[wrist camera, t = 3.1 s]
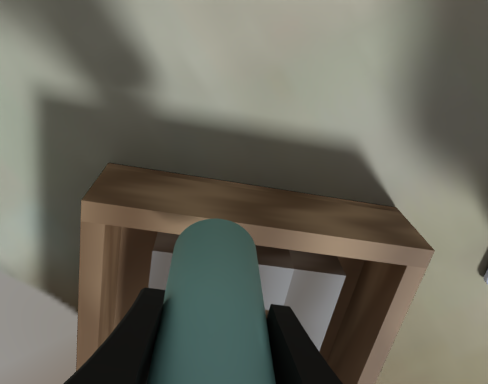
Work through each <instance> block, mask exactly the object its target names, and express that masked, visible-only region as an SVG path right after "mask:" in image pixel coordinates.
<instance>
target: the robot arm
mask: <svg viewBox="0 0 488 384" xmlns="http://www.w3.org/2000/svg"><path fill="white" fill-rule="evenodd" d="M484 281H485V282H486V283H487V284H488V269H487V271H486V273H485V275H484ZM164 296H165V290H161V289H153V288H146V287H145V288H143V289H142V290H141V291H140V293H139V295H138V296H137V298H136V300H135V301H134V303H133V304H132V306H131V307H130V309H129V310H128V312H127V313H126V315H125V316H124V317H123V319H122V320H121V321H120V323H119V324H118V325H117V326H116V328H115V329H114V330H113V332H112V333H111V334H110V335H109V337H108V338H107V339H106V340H105V341H104V342H103V343H102V345H101V346H100V347H99V348H98V349H97V350H96V351H95V352H94V354H93V355H92V356H91V357H90V358H89V359H88V360H87V361H86V362H85V363H84V364H83V365H82V366H81V367H80V368H79V369H78V370H77V371H76V372H75V373H74V374H73V375H72V376H71V377H70V378H69V379H68V380H67V381H66V382H65V383H64V384H147V379H148V374H149V369H150V364H151V359H152V354H153V349H154V344H155V340H156V336H157V332H158V328H159V323H160V318H161V313H162V308H163V303H164ZM266 320H267V327H268V334H269V341H270V348H271V354H272V361H273V368H274V375H275V382H276V384H343V383H342V382H341V381H340V379H339V378H338V377H337V376H336V374H335V373H334V372H333V370H332V369H331V367H330V366H329V365H328V363H327V362H326V360H325V359H324V358H323V356H322V355H321V353H320V352H319V350H318V349H317V348H316V346H315V345H314V343H313V342H312V340H311V339H310V337H309V335H308V334H307V332H306V331H305V329H304V328H303V326H302V325H301V323H300V321H299V320H298V318H297V317H296V315H295V313H294V312H293V310H292V309H291V307H290V306H284V305H276V304H271V305H270V308H269V312H268V315H267V319H266Z"/></svg>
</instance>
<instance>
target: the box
mask: <svg viewBox="0 0 488 384" xmlns="http://www.w3.org/2000/svg"><path fill="white" fill-rule="evenodd" d="M205 219H224V220H229V221H232V222H234V223H236V224H238V225H240V226H241V227H243V228H244V229H245V230H246V231H247V232H248V233H249V234H250V236H251V237H252V239H253V241H254V243H255V246H256V252H257V259H258V266H259V273H260V279H261V286H262V293H263V300H264V307H265V313H266V319H267V315H268V312H269V308H270V305H271V304H276V305H284V306H290V307H291V309H292V310H293V312H294V313H295V315H296V317H297V318H298V320H299V321H300V323H301V325H302V326H303V328H304V329H305V331H306V332H307V334H308V335H309V337H310V339H311V340H312V342H313V343H314V345H315V346H316V348H317V349H318V350H319V352H320V353H321V355H322V356H323V358H324V359H325V360H326V362H327V363H328V365H329V366H330V367H331V369H332V370H333V372H334V373H335V374H336V376H337V377H338V378H339V379H340V381H341V382H342V383H343V384H375V383H376V381H377V378H378V376H379V374H380V372H381V369H382V367H383V365H384V363H385V361H386V358H387V356H388V354H389V352H390V349H391V347H392V345H393V343H394V341H395V338H396V336H397V334H398V332H399V329H400V327H401V325H402V323H403V320H404V318H405V316H406V314H407V312H408V309H409V307H410V305H411V303H412V300H413V298H414V296H415V294H416V292H417V289H418V287H419V285H420V283H421V280H422V278H423V276H424V274H425V271H426V269H427V267H428V265H429V263H430V260H431V258H432V256H433V254H434V251H435V250H434V249H433V248H432V247H431V246H430V245H429V244H428V243H427V241H426V240H425V239H424V238H423V237H422V236H421V235H420V234H419V232H418V231H417V230H416V229H415V228H414V227H413V226H412V225H411V223H410V222H409V221H408V220H407V219H406V218H405V217H404V216H403V214H402V213H401V212H400V211H399V210H398V209H397V208H396V207H390V206H383V205H377V204H370V203H364V202H358V201H351V200H345V199H338V198H332V197H325V196H319V195H312V194H306V193H300V192H293V191H287V190H280V189H274V188H267V187H261V186H254V185H248V184H242V183H235V182H229V181H222V180H216V179H209V178H203V177H196V176H190V175H184V174H177V173H171V172H164V171H158V170H151V169H145V168H138V167H132V166H126V165H119V164H113V163H108V165H107V166H106V167H105V169H104V170H103V171H102V173H101V174H100V176H99V177H98V178H97V180H96V181H95V182H94V184H93V185H92V186H91V188H90V189H89V191H88V192H87V193H86V195H85V196H84V197H83V199H82V200H81V228H80V262H79V296H78V330H77V331H78V332H77V364H76V371H77V370H78V369H79V368H80V367H81V366H82V365H83V364H84V363H85V362H86V361H87V360H88V359H89V358H90V357H91V356H92V355H93V354H94V352H95V351H96V350H97V349H98V348H99V347H100V346H101V345H102V343H103V342H104V341H105V340H106V339H107V338H108V337H109V335H110V334H111V333H112V332H113V330H114V329H115V328H116V326H117V325H118V324H119V323H120V321H121V320H122V319H123V317H124V316H125V315H126V313H127V312H128V310H129V309H130V307H131V306H132V304H133V303H134V301H135V300H136V298H137V296H138V295H139V293H140V291H141V290H142V289H143V288H145V287H146V288H153V289H161V290H166V285H167V280H168V275H169V270H170V265H171V260H172V255H173V250H174V245H175V243H176V240H177V239H178V237H179V235H180V234H181V233H182V232H183V231H184V230H185V229H186V228H187V227H189V226H190V225H192V224H194V223H196V222H198V221H201V220H205Z"/></svg>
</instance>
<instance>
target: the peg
mask: <svg viewBox="0 0 488 384" xmlns="http://www.w3.org/2000/svg"><path fill="white" fill-rule="evenodd" d="M147 384H276V382H275V375H274V368H273V361H272V354H271V348H270V341H269V334H268V327H267V320H266V313H265V307H264V300H263V293H262V286H261V279H260V273H259V266H258V259H257V252H256V246H255V243H254V241H253V239H252V237H251V236H250V234H249V233H248V232H247V231H246V230H245V229H244V228H243V227H241V226H240V225H238V224H236V223H234V222H232V221H229V220H224V219H205V220H201V221H198V222H196V223H194V224H192V225H190V226H189V227H187V228H186V229H185V230H184V231H183V232H182V233H181V234H180V235H179V237H178V239H177V240H176V243H175V245H174V250H173V255H172V260H171V265H170V270H169V275H168V280H167V285H166V290H165V296H164V303H163V308H162V313H161V318H160V323H159V328H158V332H157V336H156V340H155V344H154V349H153V354H152V359H151V364H150V369H149V374H148V379H147Z"/></svg>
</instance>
